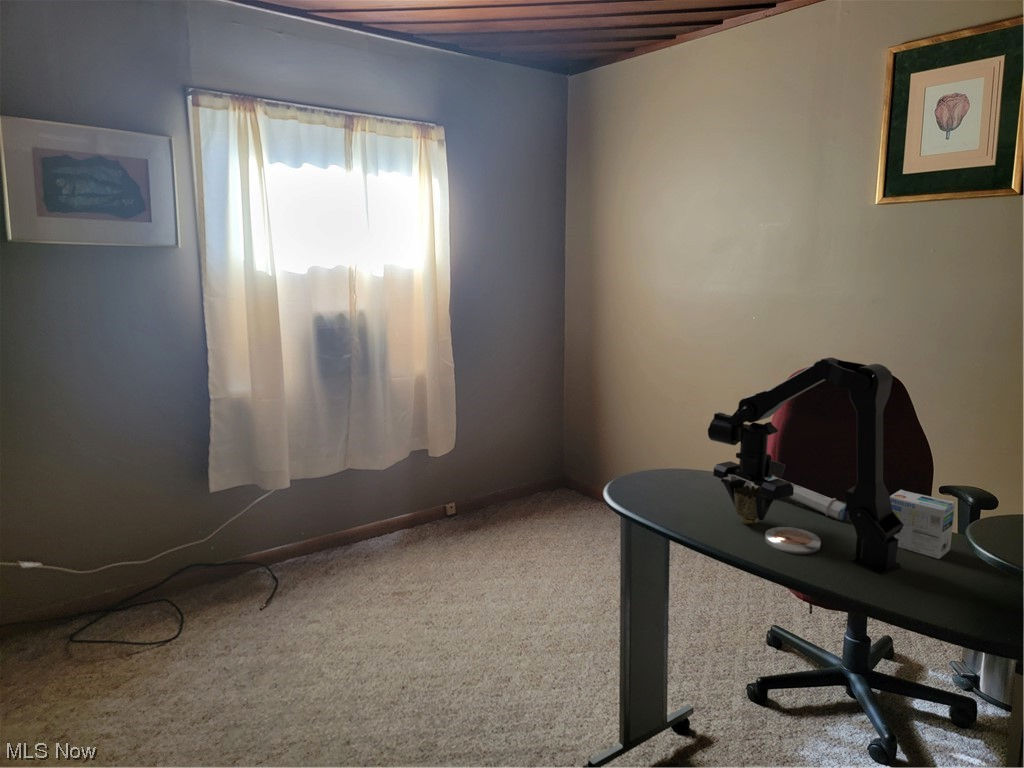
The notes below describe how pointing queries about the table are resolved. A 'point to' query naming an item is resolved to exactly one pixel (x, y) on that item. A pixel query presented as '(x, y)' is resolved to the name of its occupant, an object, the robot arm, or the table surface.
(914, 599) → the table surface
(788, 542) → the rosette plate
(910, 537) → the light bulb box
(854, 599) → the table surface
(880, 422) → the robot arm
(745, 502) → the cup
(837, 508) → the white long bar
